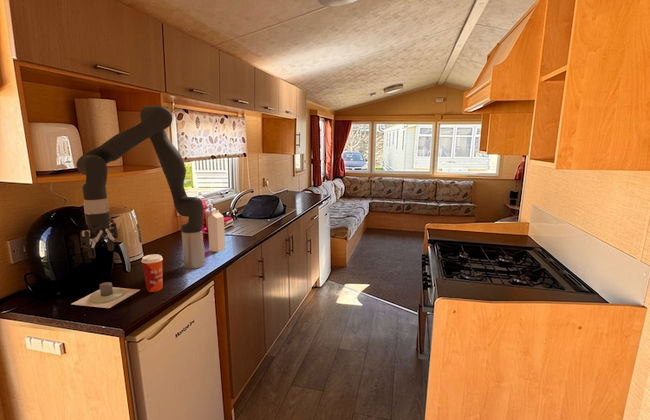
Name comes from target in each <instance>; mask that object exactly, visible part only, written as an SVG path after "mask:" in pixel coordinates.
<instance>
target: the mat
mask: <svg viewBox="0 0 650 420" xmlns="http://www.w3.org/2000/svg"><path fill="white" fill-rule="evenodd" d="M112 288H117V287H114V286H112ZM118 288H119V289H122V290H123V291H124V295H123V296H122V297H120V298H119V299H116V300H114V301H110V302H105V303H93V302H91V301H90V298H89V297H90V295H92V294H93V293H95V292H97V291H100V289H98V290H95V291H94V292H92V293H89V294H88V295H86V296H84V297H82V298H80V299H78V300H77V301H74V302H72V303H71V305H75V306H82V307H84V306H85V307H95V308H101V309H102V308H103V309H110V308H112V307H114V306H115V305H117V304H119V303H120V302H122V301H124V300H126V299H127V298H130V297H132V296H133V295H134V294H136V293H137V292H139V291H141V289H137V288H136V289H134V288H125V287H118Z"/></svg>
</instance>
